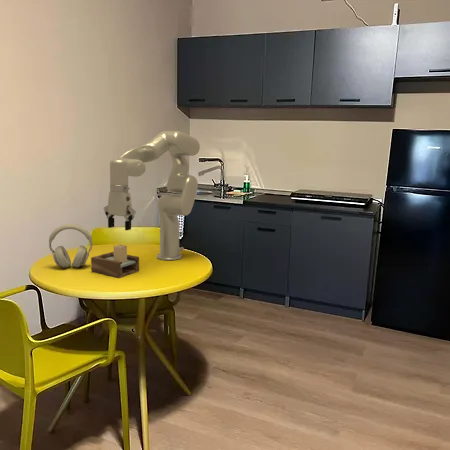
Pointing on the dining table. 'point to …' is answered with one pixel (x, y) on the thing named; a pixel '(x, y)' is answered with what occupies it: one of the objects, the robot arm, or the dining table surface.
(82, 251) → the headphones
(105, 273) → the walnut box
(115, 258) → the cover plate
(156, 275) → the dining table surface
